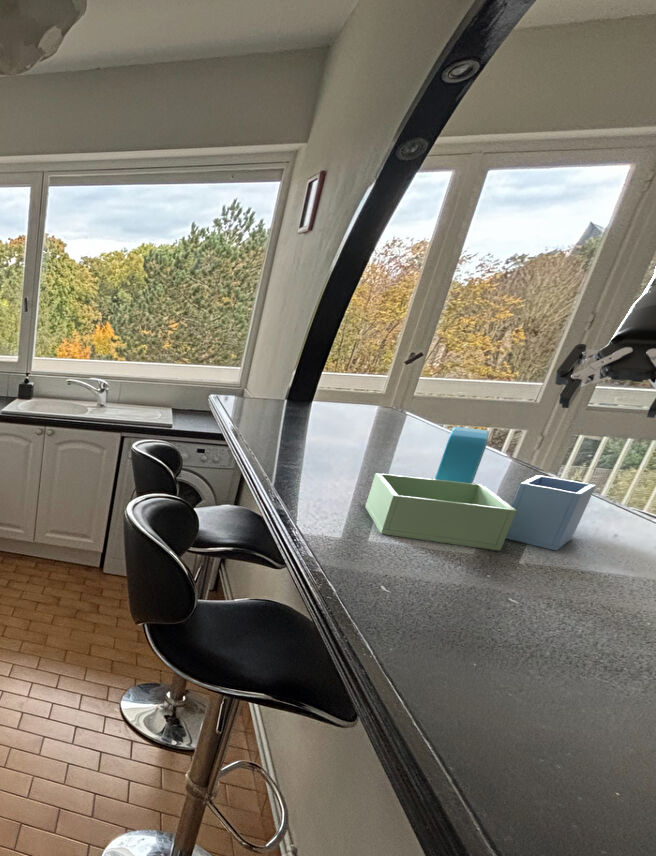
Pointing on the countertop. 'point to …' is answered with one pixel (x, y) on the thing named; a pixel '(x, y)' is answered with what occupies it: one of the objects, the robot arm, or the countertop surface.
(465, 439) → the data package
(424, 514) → the green tote
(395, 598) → the countertop surface
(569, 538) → the small bin
